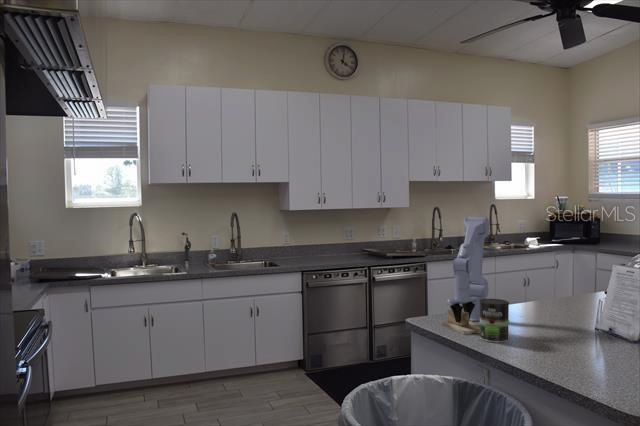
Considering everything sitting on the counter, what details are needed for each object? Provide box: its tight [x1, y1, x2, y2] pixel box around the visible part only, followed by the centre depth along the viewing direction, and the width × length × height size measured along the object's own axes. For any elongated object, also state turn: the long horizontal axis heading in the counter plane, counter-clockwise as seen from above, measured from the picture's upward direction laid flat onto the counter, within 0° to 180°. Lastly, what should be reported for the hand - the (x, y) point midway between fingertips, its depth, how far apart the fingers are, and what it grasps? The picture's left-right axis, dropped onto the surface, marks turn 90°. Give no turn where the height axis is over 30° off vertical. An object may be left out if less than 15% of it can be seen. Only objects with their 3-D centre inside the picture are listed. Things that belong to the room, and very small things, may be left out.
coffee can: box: [479, 298, 510, 344], centre depth 187 cm, size 10×10×14 cm
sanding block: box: [447, 309, 470, 326], centre depth 206 cm, size 4×8×5 cm, turn 27°
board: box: [441, 320, 480, 335], centre depth 203 cm, size 12×16×1 cm
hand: (462, 321), depth 204 cm, fingers closed on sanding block, 4 cm apart
